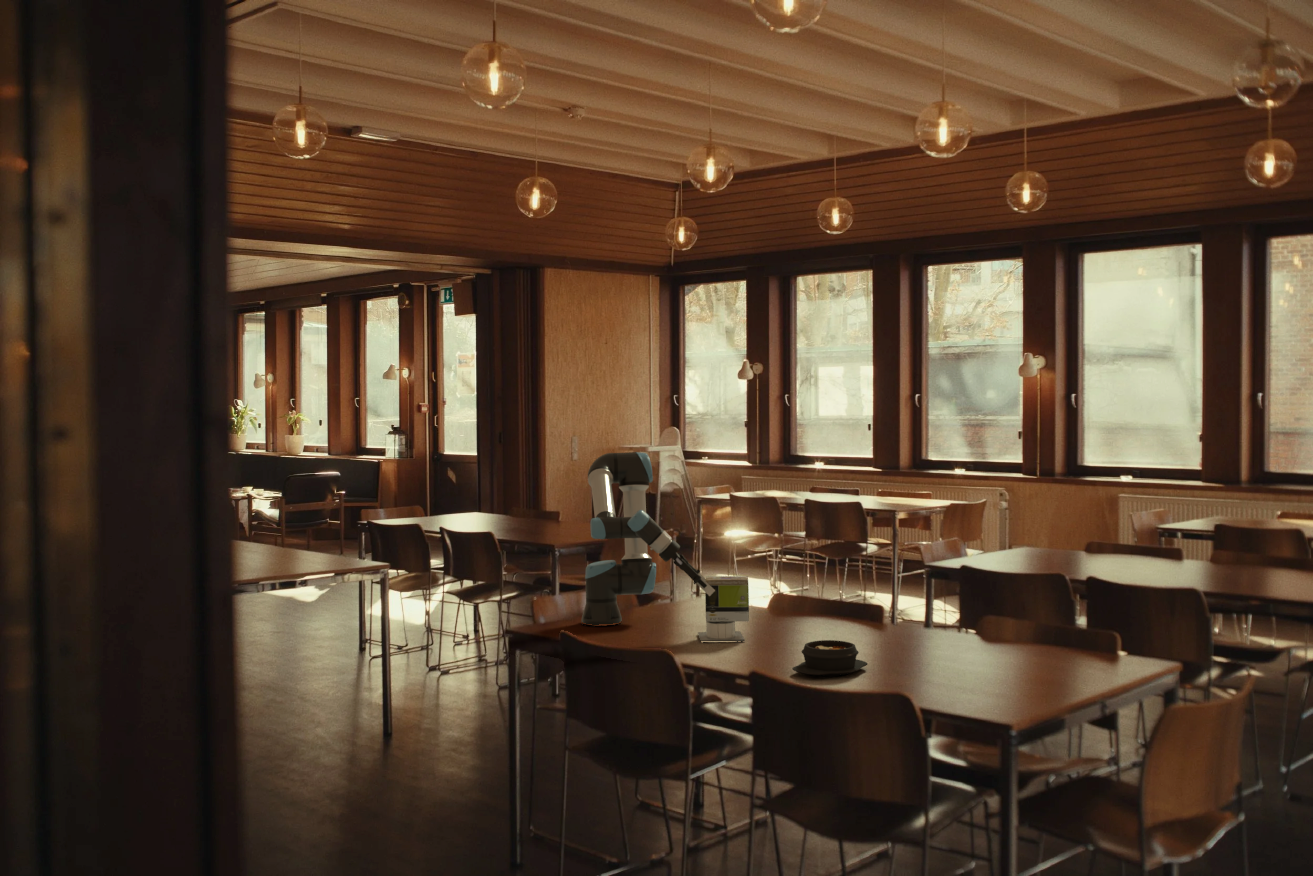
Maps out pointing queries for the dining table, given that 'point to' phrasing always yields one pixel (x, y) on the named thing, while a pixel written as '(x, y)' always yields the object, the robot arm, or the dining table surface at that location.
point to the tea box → (727, 598)
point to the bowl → (720, 632)
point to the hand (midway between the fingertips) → (711, 590)
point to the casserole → (829, 658)
